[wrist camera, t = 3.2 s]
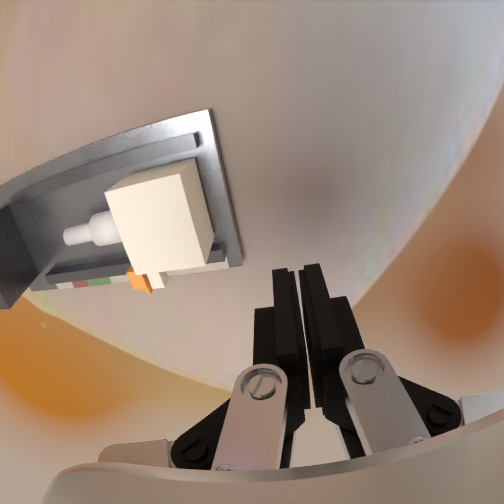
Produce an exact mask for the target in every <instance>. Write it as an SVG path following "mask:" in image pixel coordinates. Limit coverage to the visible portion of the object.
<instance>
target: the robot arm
mask: <svg viewBox="0 0 504 504" xmlns="http://www.w3.org/2000/svg"><path fill="white" fill-rule="evenodd" d="M272 277H273V295H274V306H273V307H265V308H257V309H255V314H254V347H253V366H251V367H249V368H247V369H245V370H244V371H242V373H241V374H240V375H239V376H238V377H237V379H236V382H235V385H234V388H233V392H232V396H231V398H230V399H228V400H227V401H226V402H225V403H224V404H222V405H221V406H220V407H219V408H217V409H216V410H214V411H213V412H212V413H211V414H209V415H208V416H207V417H205V418H204V419H203V420H201V421H200V422H199V423H197V424H196V425H195V426H193V427H192V428H190V429H189V430H188V431H186V432H185V433H184V434H182V435H181V436H180V437H179V438H178V439H177V440H175V441H168V440H167V439H163V440H155V441H147V442H138V443H127V444H114V445H110V446H108V447H106V448H105V449H104V450H103V451H102V452H101V453H100V455H99V459H98V462H94V463H85V464H80V465H76V466H72V467H69V468H67V469H64V470H63V471H61V472H59V473H58V474H57V475H56V476H55V477H54V479H53V480H52V482H51V483H50V485H49V487H48V489H47V491H46V493H45V495H44V498H43V501H42V503H41V504H504V390H499V391H494V392H489V393H483V394H477V395H471V396H464V397H460V399H459V400H455V401H454V400H452V399H451V398H449V397H447V396H444V395H442V394H440V393H437V392H435V391H432V390H430V389H428V388H425V387H422V386H421V385H418V384H416V383H413V382H411V381H409V380H406V379H404V378H402V377H400V376H397V374H396V372H395V371H394V369H393V367H392V366H391V364H390V362H389V361H388V359H387V358H386V357H385V356H384V355H383V354H381V353H380V352H378V351H375V350H371V349H365V347H364V344H363V342H362V339H361V336H360V333H359V330H358V327H357V324H356V321H355V318H354V316H353V313H352V310H351V307H350V304H349V302H348V299H347V297H346V296H342V297H335V298H330V296H329V293H328V290H327V287H326V283H325V280H324V277H323V274H322V270H321V267H320V264H319V263H317V264H310V265H304V270H299V279H300V288H301V298H302V308H303V318H304V328H305V336H306V342H307V349H308V355H309V362H310V369H311V376H312V383H313V391H314V398H315V406H316V408H318V407H322V411H323V415H325V418H326V419H328V420H329V421H331V422H333V423H335V424H336V430H337V432H338V435H339V438H340V441H341V444H342V446H343V449H344V452H345V455H346V458H347V460H345V461H339V462H333V463H327V464H320V465H312V466H304V467H295V468H292V460H293V453H294V444H295V436H296V432H295V431H296V430H297V429H298V428H299V427H300V425H302V424H303V423H304V422H305V414H304V409H310V408H311V406H310V391H309V377H308V364H307V353H306V345H305V338H304V331H303V325H302V318H301V312H300V305H299V299H298V293H297V287H296V281H295V275H294V271H290V272H288V270H287V268H283V269H276V270H272Z"/></svg>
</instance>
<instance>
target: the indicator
mask: <svg viewBox="0 0 504 504" xmlns="http://www.w3.org/2000/svg"><path fill="white" fill-rule="evenodd" d="M126 274H127V276H128V278H129V280H130V283H131V285H132V287H133V289H134V290H140V289H145V291H146V293H147V295H148V294H151V292H152V290H153V289H152V287H151V285H150V281H149V279H148V276H147V274H142V275H136V274H135V272H134V269H133V267H132V265H131V266H130V267H129V269H128V270H127V272H126Z"/></svg>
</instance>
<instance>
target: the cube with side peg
mask: <svg viewBox="0 0 504 504" xmlns="http://www.w3.org/2000/svg"><path fill="white" fill-rule="evenodd" d="M104 193H105V196H106V199H107V202H108V205H109V208H110V210H108V211H104V212H100V213H96V214H94V215H92V217H91V219H90V222H88V223H84V224H80V225H77V226H73V227H69V228H66V229H65V230H64V233H63V238H64V241H65V243H66V244H67V245H69V246H71V245H76V244H80V243H85V242H90V241H93V242H94V243H95V244H96V245H97V246H104V245H110V244H115V243H120V242H122V243H123V245H124V248H125V250H126V253H127V255H128V258H129V260H130V262H131V265H132V267H133V269H134V272H135V274H136V275H142V274H147V276H148V279H149V281H150V283H151V286H152V288H153V289H156V288H165V286H166V283H167V281H168V279H169V277H168V275H167V272H166V271H173V270H180V269H188V268H195V267H203V266H206V263H207V260H208V257H209V253H210V250H211V246H212V243H213V240H214V233H213V229H212V225H211V221H210V217H209V214H208V210H207V206H206V202H205V198H204V194H203V190H202V186H201V182H200V178H199V174H198V170H197V165H196V161H195V158H191V159H186V160H182V161H178V162H173V163H169V164H165V165H161V166H157V167H153V168H149V169H145V170H141V171H137V172H134V173H130V174H128V175H127V176H126V177H124V178H123V179H122V180H120V181H119V182H118V183H116V184H115V185H114V186H112V187H111V188H110V189H108V190H107V191H106V192H104Z"/></svg>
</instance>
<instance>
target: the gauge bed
mask: <svg viewBox="0 0 504 504" xmlns="http://www.w3.org/2000/svg"><path fill="white" fill-rule="evenodd" d="M191 158H195V161H196V165H197V170H198V174H199V178H200V182H201V186H202V190H203V194H204V198H205V202H206V206H207V210H208V214H209V217H210V221H211V225H212V229H213V233H214V240H213V243H212V246H211V250H210V253H209V257H208V260H207V263H206V266H203V267H195V268H188V269H180V270H173V271H166V272H167V275H168V276H174V275H182V274H189V273H197V272H205V271H213V270H220V269H228V268H230V267H236V266H243V254H242V249H241V245H240V240H239V236H238V231H237V227H236V222H235V218H234V213H233V209H232V204H231V200H230V195H229V191H228V186H227V182H226V177H225V173H224V168H223V163H222V159H221V154H220V150H219V145H218V140H217V136H216V131H215V126H214V122H213V117H212V112H211V109H207V110H202V111H198V112H194V113H190V114H185V115H181V116H178V117H174V118H170V119H166V120H163V121H159V122H156V123H152V124H149V125H146V126H142V127H139V128H136V129H133V130H130V131H126V132H123V133H120V134H118V135H115V136H112V137H109V138H106V139H103V140H101V141H98V142H95V143H93V144H90V145H87V146H85V147H82V148H80V149H77V150H75V151H72V152H70V153H67V154H65V155H63V156H60V157H58V158H56V159H54V160H51V161H49V162H47V163H45V164H43V165H40V166H38V167H36V168H34V169H32V170H30V171H28V172H26V173H24V174H22V175H20V176H18V177H16V178H14V179H12V180H10V181H8V182H6V183H5V184H3V185H1V186H0V309H10V308H11V307H12V306H13V304H14V303H15V302H16V301H17V300H18V298H19V297H20V296H21V295H22V294H23V292H24V291H25V290H26V289H27V288H28V287H30V289H31V291H40V290H49V289H65V288H77V287H86V286H95V285H103V284H112V283H116V282H125V281H130V280H129V278H128V276H127V274H126V272H127V270H128V269H129V267H130V266H131V262H130V260H129V258H128V255H127V253H126V250H125V248H124V245H123V243H122V242H120V243H115V244H110V245H104V246H97V245H96V244H95V243H94V242H93V241H90V242H85V243H80V244H76V245H71V246H69V245H67V244H66V243H65V241H64V238H63V233H64V230H65V229H66V228H69V227H73V226H77V225H80V224H84V223H88V222H90V219H91V217H92V215H94V214H96V213H100V212H104V211H108V210H110V208H109V205H108V202H107V199H106V196H105V193H104V192H106V191H107V190H108V189H110V188H111V187H112V186H114V185H115V184H116V183H118V182H119V181H120V180H122V179H123V178H124V177H126V176H127V175H128V174H130V173H134V172H137V171H141V170H145V169H149V168H153V167H157V166H161V165H165V164H169V163H173V162H178V161H182V160H186V159H191Z"/></svg>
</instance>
